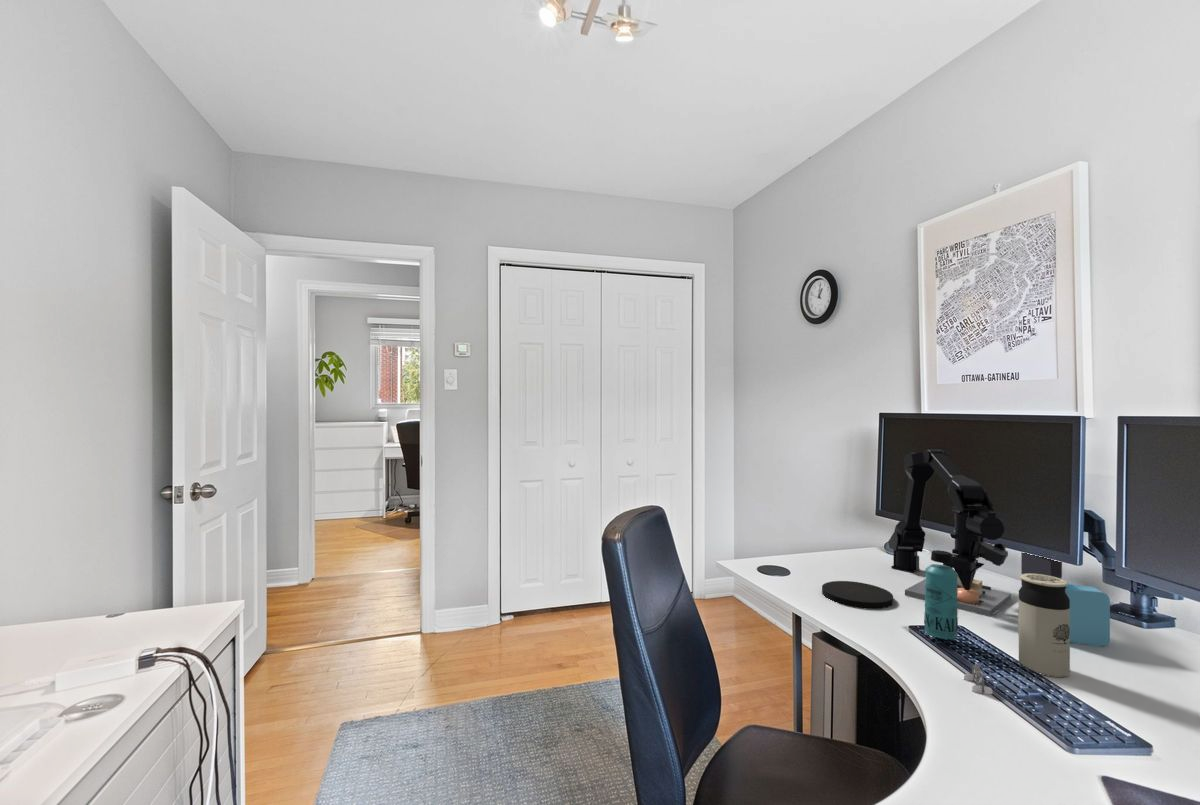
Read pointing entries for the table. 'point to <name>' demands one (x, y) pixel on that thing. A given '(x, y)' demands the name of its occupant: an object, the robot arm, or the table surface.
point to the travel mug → (1044, 625)
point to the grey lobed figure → (977, 680)
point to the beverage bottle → (941, 597)
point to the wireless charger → (857, 594)
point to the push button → (968, 596)
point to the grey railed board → (987, 604)
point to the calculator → (1040, 566)
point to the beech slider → (976, 586)
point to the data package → (1089, 615)
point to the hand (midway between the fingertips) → (967, 589)
